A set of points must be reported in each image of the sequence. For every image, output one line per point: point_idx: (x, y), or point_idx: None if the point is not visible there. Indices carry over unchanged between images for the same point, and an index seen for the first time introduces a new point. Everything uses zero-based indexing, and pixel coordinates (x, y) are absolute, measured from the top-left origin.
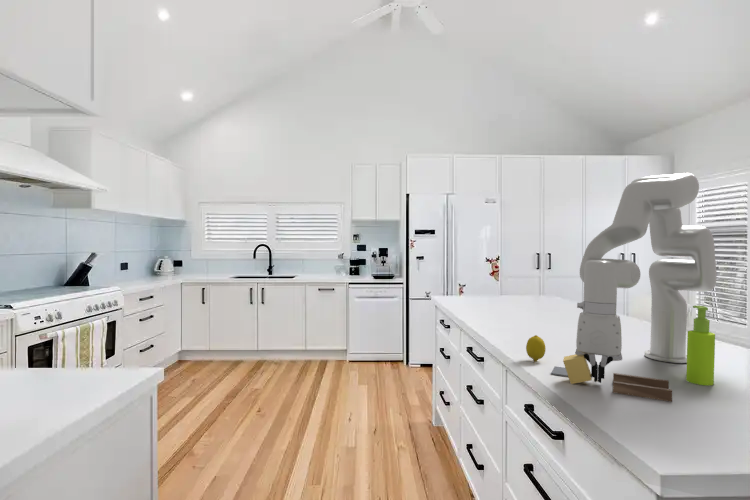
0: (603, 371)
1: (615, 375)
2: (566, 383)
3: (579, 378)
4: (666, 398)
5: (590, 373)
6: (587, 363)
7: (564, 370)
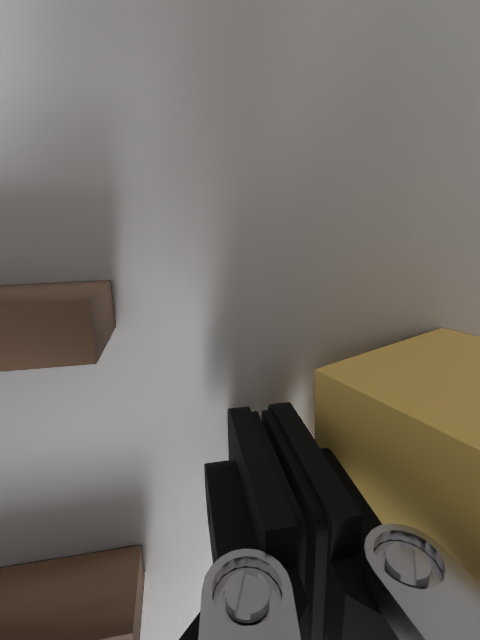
0: (223, 517)
1: (113, 622)
2: (471, 325)
3: (420, 356)
4: None
5: None
6: None
7: None
